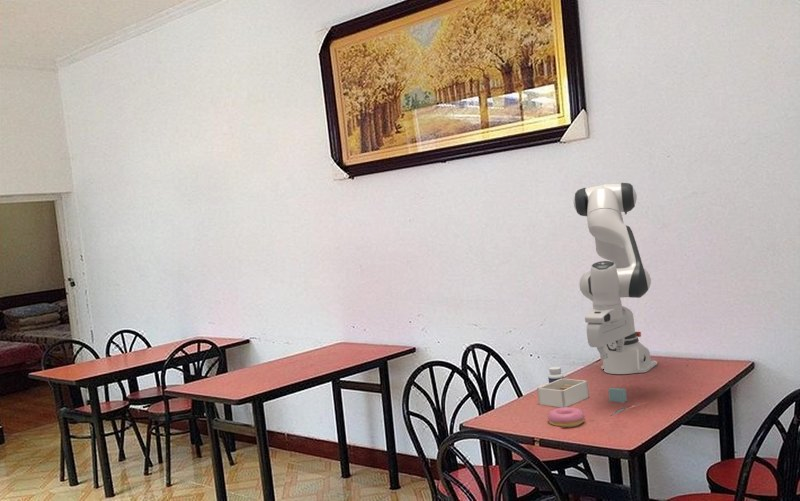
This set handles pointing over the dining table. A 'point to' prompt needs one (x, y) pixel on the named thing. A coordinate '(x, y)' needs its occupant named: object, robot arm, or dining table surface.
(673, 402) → the dining table surface
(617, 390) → the lid
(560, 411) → the doughnut
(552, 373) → the pill bottle
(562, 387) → the block
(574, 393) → the tub
